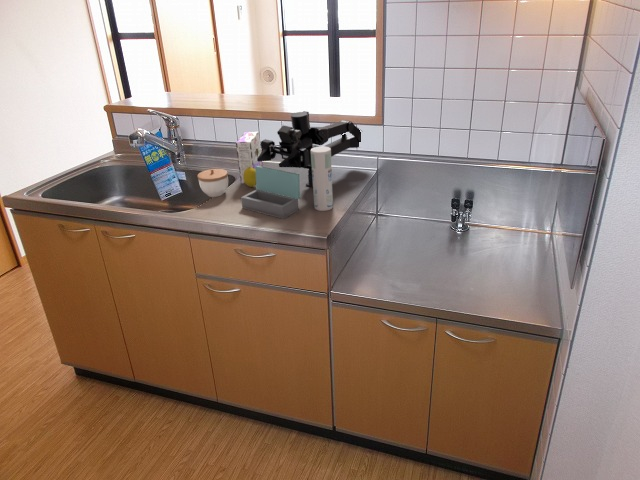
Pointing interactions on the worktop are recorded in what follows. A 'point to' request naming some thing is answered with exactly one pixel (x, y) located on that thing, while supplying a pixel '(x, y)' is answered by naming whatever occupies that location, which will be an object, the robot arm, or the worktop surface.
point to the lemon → (250, 177)
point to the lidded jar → (213, 182)
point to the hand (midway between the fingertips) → (268, 162)
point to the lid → (278, 182)
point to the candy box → (248, 152)
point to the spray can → (322, 178)
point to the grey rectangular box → (270, 203)
